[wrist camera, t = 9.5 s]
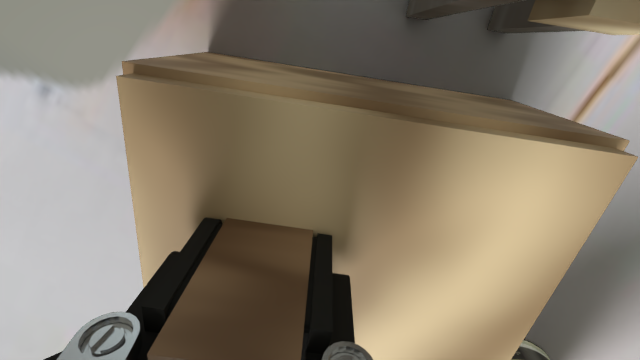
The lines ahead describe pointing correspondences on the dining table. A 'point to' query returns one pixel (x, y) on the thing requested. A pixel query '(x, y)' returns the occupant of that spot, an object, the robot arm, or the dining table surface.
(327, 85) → the wooden box
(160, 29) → the dining table surface
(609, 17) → the tan rectangular block
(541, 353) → the coffee can
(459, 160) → the lid
